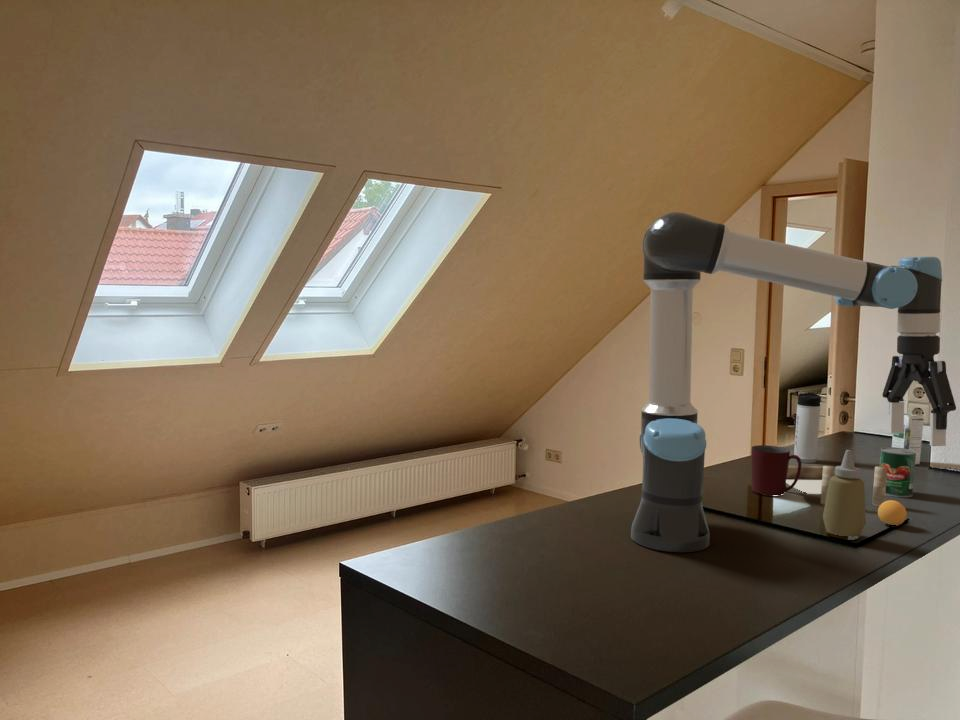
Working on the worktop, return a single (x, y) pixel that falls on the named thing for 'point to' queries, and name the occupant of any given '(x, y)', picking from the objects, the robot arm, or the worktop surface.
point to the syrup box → (910, 435)
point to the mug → (771, 469)
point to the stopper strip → (805, 472)
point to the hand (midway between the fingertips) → (916, 439)
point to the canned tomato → (898, 470)
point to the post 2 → (879, 485)
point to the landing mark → (807, 486)
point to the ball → (892, 512)
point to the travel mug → (807, 427)
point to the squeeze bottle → (845, 500)
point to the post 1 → (826, 481)
